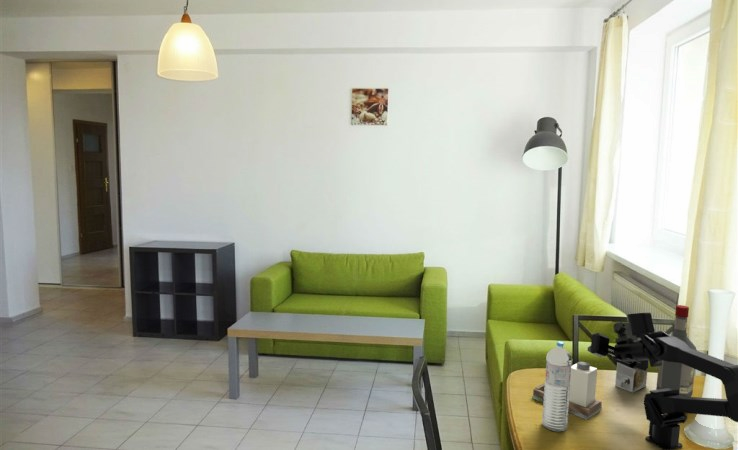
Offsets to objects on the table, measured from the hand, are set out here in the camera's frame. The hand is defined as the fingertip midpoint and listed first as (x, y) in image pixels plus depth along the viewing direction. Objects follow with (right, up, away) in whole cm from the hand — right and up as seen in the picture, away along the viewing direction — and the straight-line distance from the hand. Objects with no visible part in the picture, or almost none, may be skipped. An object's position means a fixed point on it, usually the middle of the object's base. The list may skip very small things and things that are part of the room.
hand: (600, 353), depth 161 cm
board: (-11, -16, 0) cm, 19 cm away
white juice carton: (-8, -15, -3) cm, 17 cm away
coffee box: (+17, -15, +14) cm, 26 cm away
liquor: (+28, -16, +8) cm, 33 cm away
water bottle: (-20, -17, -14) cm, 30 cm away
